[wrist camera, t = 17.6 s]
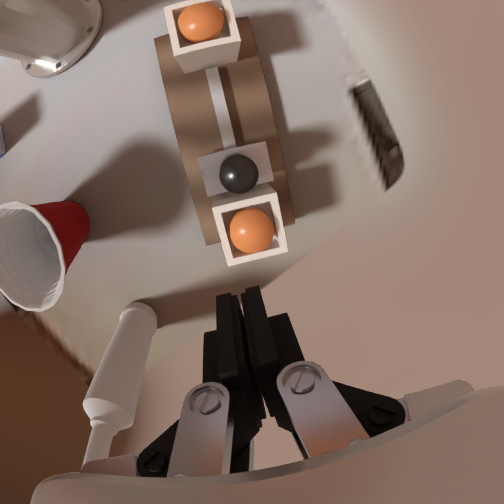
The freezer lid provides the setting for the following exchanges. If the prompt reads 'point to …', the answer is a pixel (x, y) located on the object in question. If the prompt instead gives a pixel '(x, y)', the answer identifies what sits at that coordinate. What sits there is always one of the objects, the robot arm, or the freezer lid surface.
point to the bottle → (119, 379)
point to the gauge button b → (251, 229)
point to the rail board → (222, 119)
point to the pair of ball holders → (227, 202)
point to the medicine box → (2, 143)
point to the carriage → (236, 168)
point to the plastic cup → (38, 250)
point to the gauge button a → (201, 22)
